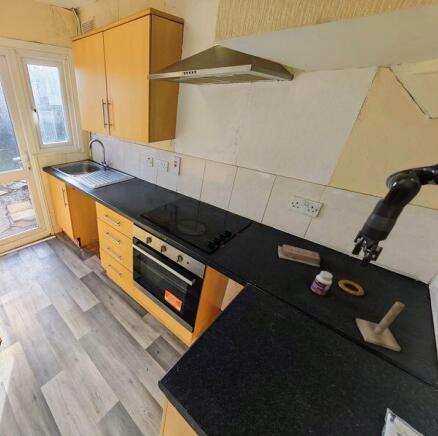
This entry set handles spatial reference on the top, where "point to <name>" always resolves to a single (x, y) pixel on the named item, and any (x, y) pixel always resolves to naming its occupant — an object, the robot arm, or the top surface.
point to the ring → (342, 282)
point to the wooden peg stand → (381, 329)
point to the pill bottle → (322, 283)
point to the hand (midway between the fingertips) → (358, 259)
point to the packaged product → (299, 255)
